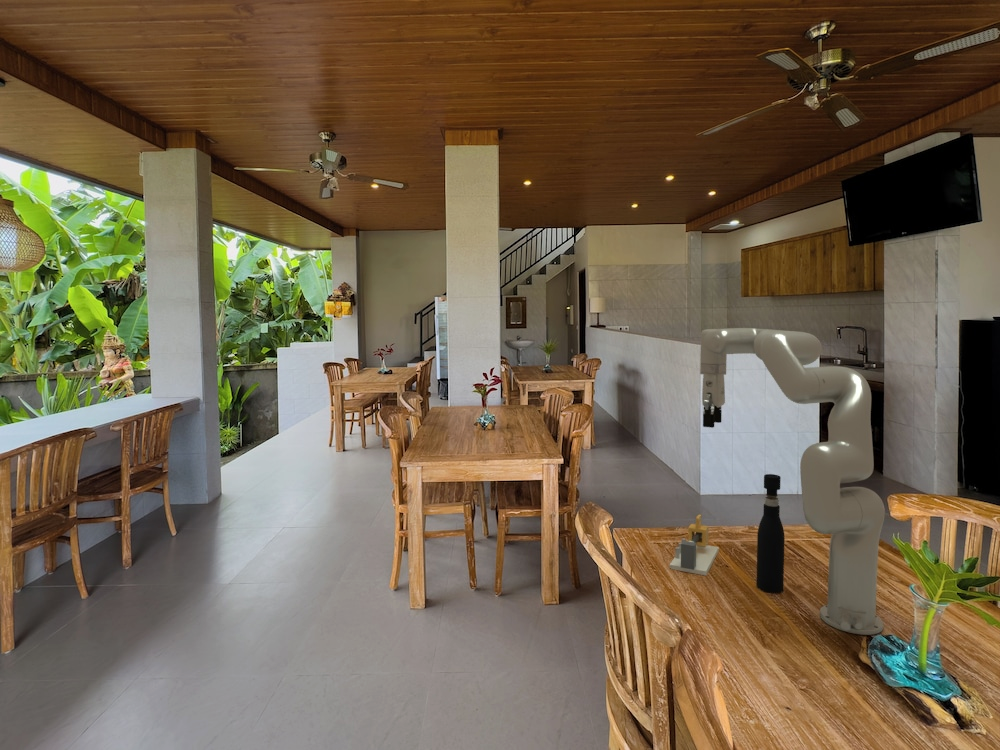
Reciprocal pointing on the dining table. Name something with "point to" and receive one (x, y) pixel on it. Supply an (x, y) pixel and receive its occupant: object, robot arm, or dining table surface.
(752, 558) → the dining table surface
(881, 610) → the dining table surface
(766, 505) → the black water bottle
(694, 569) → the linear slide rail
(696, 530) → the sleeve
